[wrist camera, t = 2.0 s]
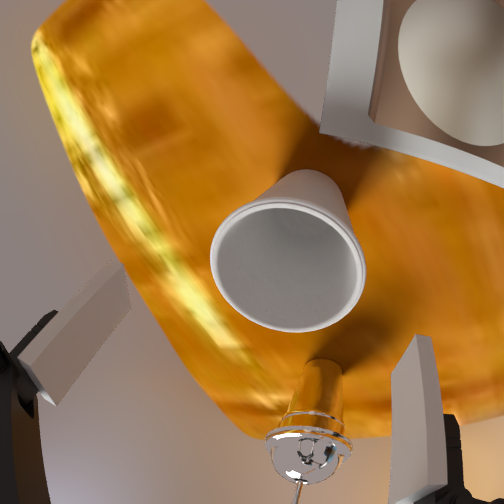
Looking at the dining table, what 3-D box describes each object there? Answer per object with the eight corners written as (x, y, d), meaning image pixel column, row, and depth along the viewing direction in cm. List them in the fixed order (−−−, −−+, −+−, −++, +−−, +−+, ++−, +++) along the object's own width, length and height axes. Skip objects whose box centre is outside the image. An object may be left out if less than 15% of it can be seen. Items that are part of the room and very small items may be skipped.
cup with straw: (285, 342, 33) (226, 523, 16) (370, 349, 30) (351, 541, 14) (286, 388, 37) (240, 536, 21) (358, 395, 35) (334, 550, 18)
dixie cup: (240, 170, 25) (183, 224, 17) (342, 138, 21) (341, 178, 13) (277, 259, 28) (244, 341, 20) (371, 238, 25) (378, 322, 16)
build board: (535, 30, 11) (544, 28, 10) (507, 186, 19) (515, 193, 17) (342, -42, 14) (341, -50, 13) (320, 129, 21) (319, 132, 20)
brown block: (514, 32, 11) (550, 27, 7) (494, 156, 17) (526, 178, 13) (384, -19, 13) (395, -45, 9) (367, 114, 19) (374, 123, 14)
